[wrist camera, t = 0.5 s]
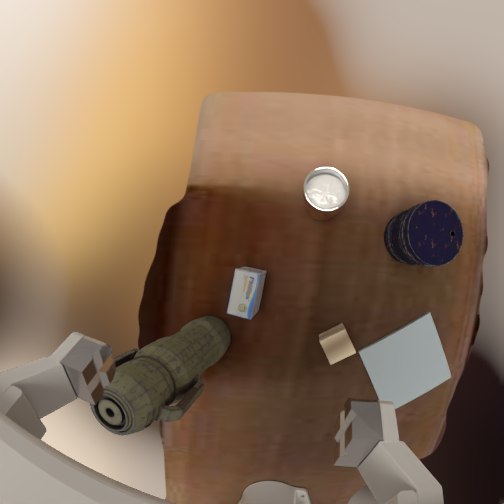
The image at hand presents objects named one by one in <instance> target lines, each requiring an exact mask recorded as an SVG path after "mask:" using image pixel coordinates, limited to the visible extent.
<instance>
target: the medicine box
mask: <svg viewBox="0 0 504 504" xmlns="http://www.w3.org/2000/svg"><path fill="white" fill-rule="evenodd" d="M266 272H267V271H265V270H260V269H255V268H250V267H242V268H238V269H235V273H234V278H233V283H232V288H231V293H230V298H229V303H228V308H227V314H230V315H234V316H238V317H242V318H245V319H249V320H251V319H252V318H253V317H254V316H255V314H256V313H257V312H258V311H259V307H260V302H261V297H262V292H263V287H264V282H265V277H266Z"/></svg>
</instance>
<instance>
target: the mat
mask: <svg viewBox="0 0 504 504" xmlns="http://www.w3.org/2000/svg"><path fill="white" fill-rule="evenodd" d="M358 352H359V354H360V356H361V358H362V361H363V363H364V365H365V367H366V370H367V372H368V374H369V377H370V379H371V381H372V384H373V386H374V388H375V391H376V393H377V395H378V398H379V400H380V401H392V402H393V404H394V408H395V409H396V408H398V407H400V406H402V405H404V404H406V403H408V402H410V401H411V400H413V399H415V398H417V397H419V396H421V395H422V394H424V393H426V392H428V391H429V390H431V389H433V388H434V387H436V386H438V385H439V384H441V383H443V382H444V381H446V380H447V379H449V378H451V374H450V370H449V367H448V364H447V360H446V357H445V354H444V351H443V348H442V345H441V342H440V339H439V336H438V333H437V330H436V328H435V325H434V322H433V319H432V317H431V314H430V312H427V313H425V314H424V315H422V316H420V317H418V318H417V319H415V320H413V321H412V322H410V323H408V324H406V325H405V326H403V327H401V328H399V329H398V330H396V331H394V332H392V333H390V334H388V335H387V336H385V337H383V338H381V339H379V340H377V341H375V342H373V343H372V344H370V345H368V346H366V347H364V348H362V349H360V350H358Z"/></svg>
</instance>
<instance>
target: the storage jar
mask: <svg viewBox="0 0 504 504" xmlns="http://www.w3.org/2000/svg"><path fill="white" fill-rule="evenodd" d="M384 242H385V246H386V249H387V251H388V253H389V254H390V255H391V256H392V257H393V258H394V259H395V260H397V261H399V262H401V263H405V264H411V265H414V264H418V265H423V266H442V265H445V264H447V263H449V262H451V261H452V260H453V259H454V258H455V257H456V256H457V254H458V253H459V251H460V249H461V246H462V242H463V227H462V223H461V220H460V218H459V216H458V214H457V213H456V211H455V210H454V209H453V208H452V207H451V206H449V205H448V204H446V203H444V202H442V201H438V200H431V201H427V202H424V203H421V204H418V205H416V206H414V207H412V208H410V209H409V210H406V211H403V212H401V213H399V214H398V215H396V216H395V217H393V218H392V219H391V220H390V221H389V223H388V224H387V226H386V229H385V232H384Z"/></svg>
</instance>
